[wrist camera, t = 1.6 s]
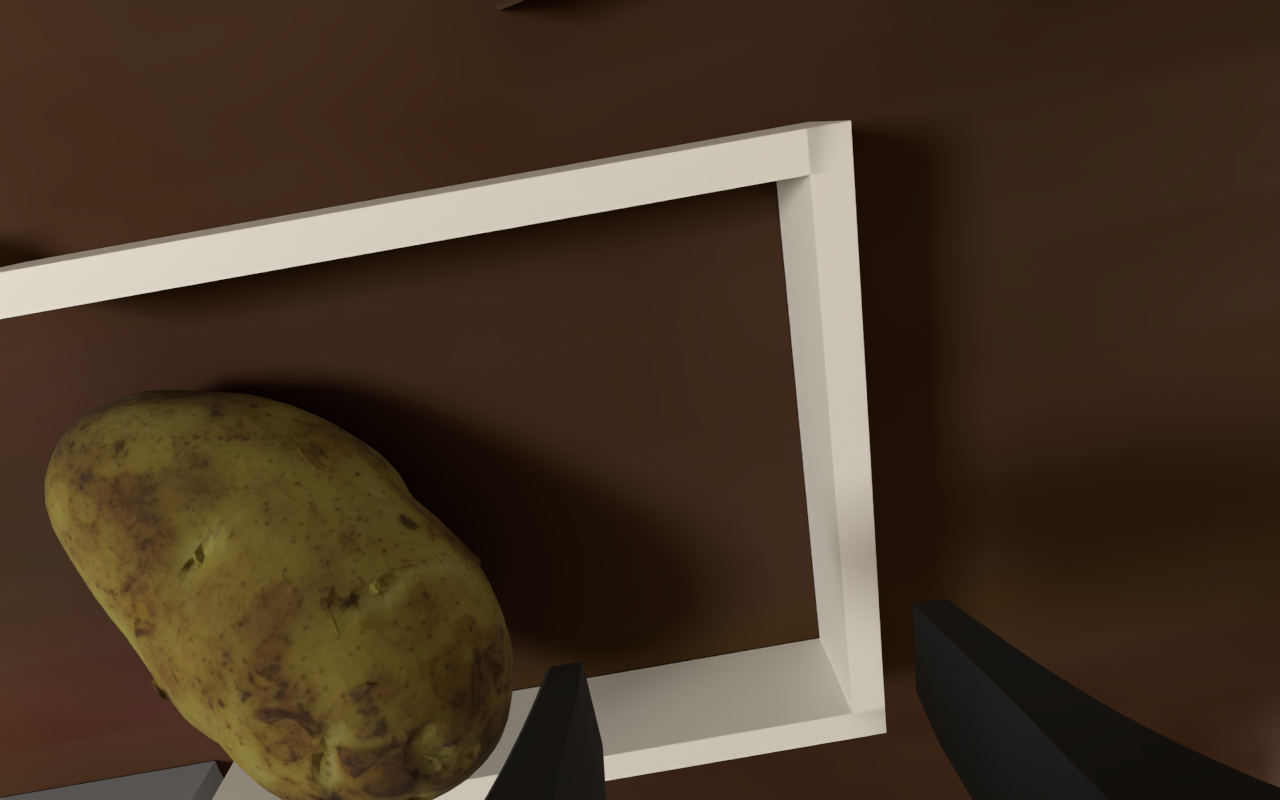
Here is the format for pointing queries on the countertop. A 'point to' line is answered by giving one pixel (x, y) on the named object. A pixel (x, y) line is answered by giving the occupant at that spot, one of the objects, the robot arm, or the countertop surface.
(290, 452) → the potato
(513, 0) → the crook tool
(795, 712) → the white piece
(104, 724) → the countertop surface
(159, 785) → the frame
